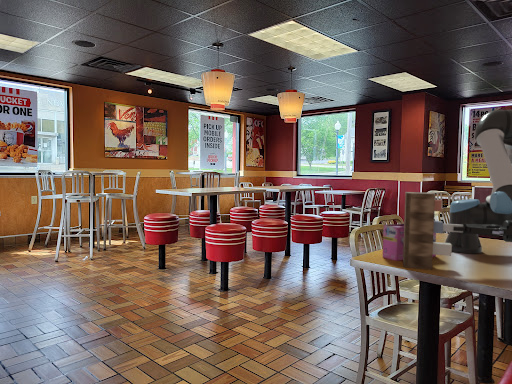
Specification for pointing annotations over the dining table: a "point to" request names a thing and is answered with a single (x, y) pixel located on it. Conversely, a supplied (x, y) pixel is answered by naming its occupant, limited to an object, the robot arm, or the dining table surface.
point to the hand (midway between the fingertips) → (442, 227)
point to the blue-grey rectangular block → (438, 227)
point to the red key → (438, 205)
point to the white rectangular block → (442, 248)
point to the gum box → (395, 241)
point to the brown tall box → (418, 230)
